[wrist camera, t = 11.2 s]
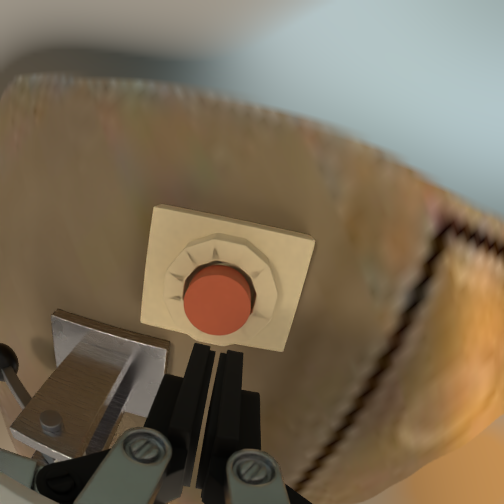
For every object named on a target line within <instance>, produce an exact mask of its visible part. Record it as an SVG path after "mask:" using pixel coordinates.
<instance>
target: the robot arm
mask: <svg viewBox="0 0 504 504" xmlns="http://www.w3.org/2000/svg"><path fill="white" fill-rule="evenodd" d="M215 352H216V351H211V350H210V346H207V345H203V344H198V343H195V344H194V347H193V350H192V353H191V356H190V359H189V362H188V366H187V369H186V372H185V375H184V378H182V377H178V376H174V375H170V374H166V373H165V374H164V376H163V379H162V381H161V384H160V386H159V389H158V391H157V394H156V396H155V399H154V401H153V404H152V406H151V409H150V411H149V414H148V416H147V419H146V422H145V424H144V427H136V428H131V429H129V430H127V431H125V432H124V433H123V434H122V435H121V436H120V437H119V438H118V440H117V441H116V442H115V444H114V445H113V447H112V448H111V449H108V450H104V451H100V452H97V453H93V454H89V455H85V456H81V457H77V458H73V459H69V460H65V461H60V462H56V463H51V464H48V465H46V466H45V465H42V464H39V463H38V461H37V460H34V459H31V458H28V457H24V456H21V455H18V454H15V453H12V452H10V451H7V450H4V449H1V448H0V504H168V502H170V501H172V500H174V499H177V498H179V497H180V496H181V494H182V489H183V486H188V487H190V483H191V478H192V473H193V467H194V462H195V457H196V451H197V446H198V441H199V435H200V430H201V425H202V420H203V414H204V409H205V404H206V399H207V393H208V388H209V383H210V378H211V373H212V368H213V363H214V357H215ZM242 369H243V353H242V352H236V351H231V350H227V354H225V353H220V358H219V363H218V367H217V372H216V377H215V382H214V386H213V391H212V396H211V401H210V406H209V411H208V416H207V422H206V428H205V433H204V439H203V445H202V451H201V457H200V463H199V469H198V475H197V481H196V488H198V489H202V493H201V498H202V502H203V503H204V504H312V503H311V502H309V501H308V500H306V499H305V498H304V497H302V496H301V495H300V494H298V493H297V492H296V491H294V490H293V489H292V488H290V487H289V486H288V485H286V484H285V483H284V479H283V475H282V472H281V468H280V466H279V464H278V462H277V461H276V460H275V459H274V458H273V457H272V456H271V455H269V454H268V453H266V452H263V451H261V431H260V395H259V393H258V392H252V391H246V390H241V387H242Z"/></svg>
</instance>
